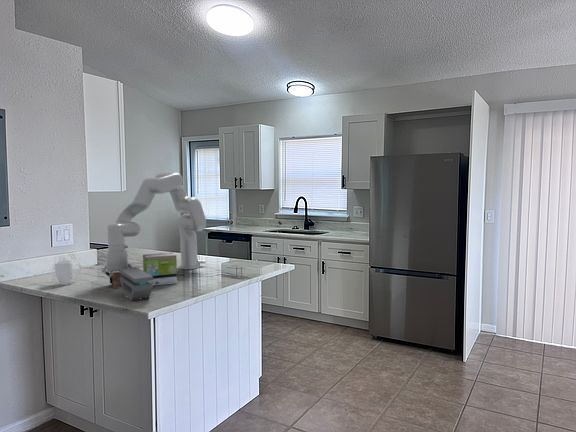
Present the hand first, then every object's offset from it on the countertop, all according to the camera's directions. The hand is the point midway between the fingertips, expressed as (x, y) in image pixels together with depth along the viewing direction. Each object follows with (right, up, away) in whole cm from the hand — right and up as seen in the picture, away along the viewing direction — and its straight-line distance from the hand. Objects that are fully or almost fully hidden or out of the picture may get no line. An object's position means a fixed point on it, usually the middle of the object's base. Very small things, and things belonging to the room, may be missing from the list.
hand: (118, 283), depth 221 cm
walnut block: (0, -1, 0) cm, 1 cm away
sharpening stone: (+16, -3, -22) cm, 27 cm away
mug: (-27, -1, +4) cm, 27 cm away
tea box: (+20, 0, +3) cm, 20 cm away
